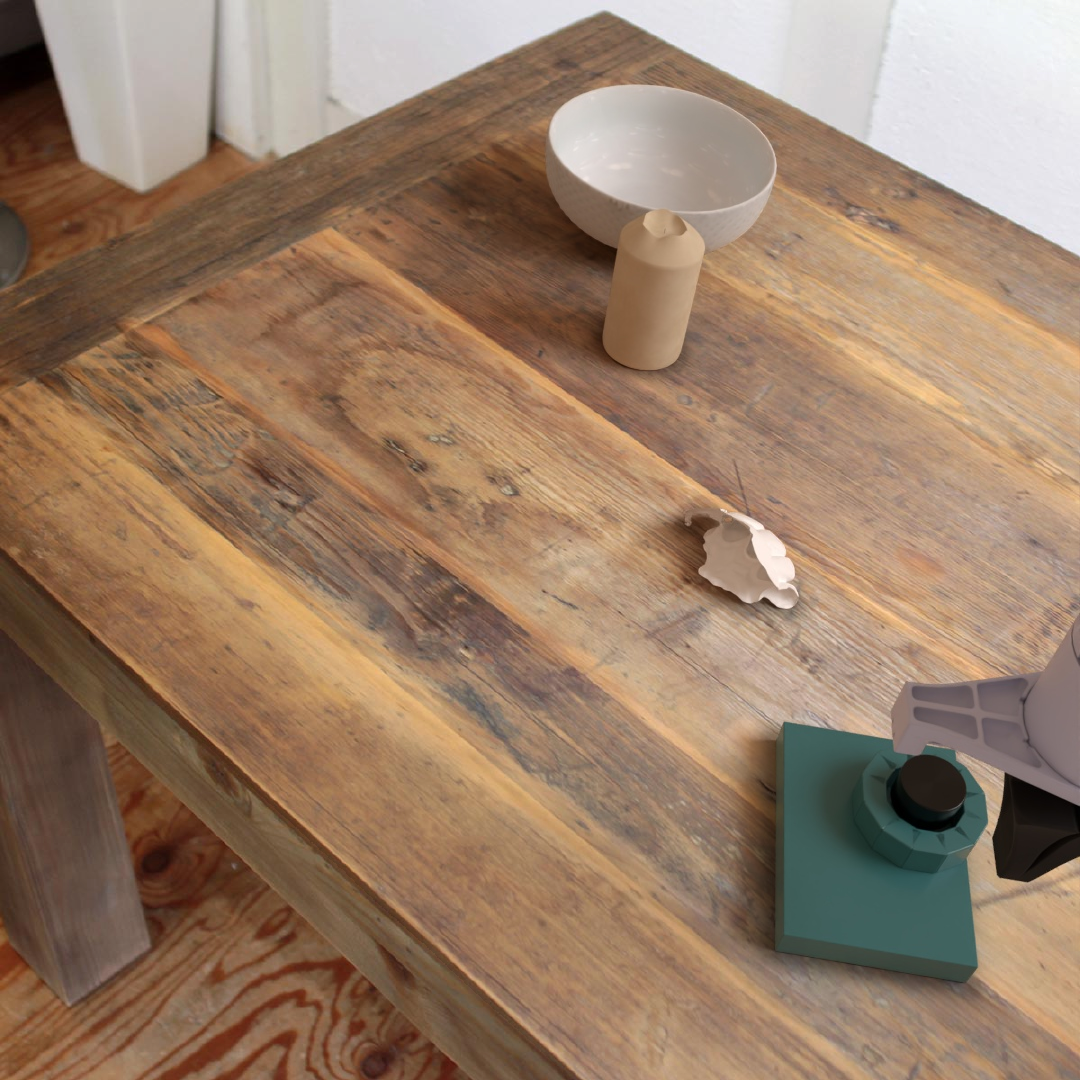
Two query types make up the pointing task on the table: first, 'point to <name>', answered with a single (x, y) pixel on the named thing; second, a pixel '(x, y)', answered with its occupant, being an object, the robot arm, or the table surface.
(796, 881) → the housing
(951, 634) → the table surface
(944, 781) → the button
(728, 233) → the cereal bowl
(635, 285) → the candle
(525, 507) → the table surface
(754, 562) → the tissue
